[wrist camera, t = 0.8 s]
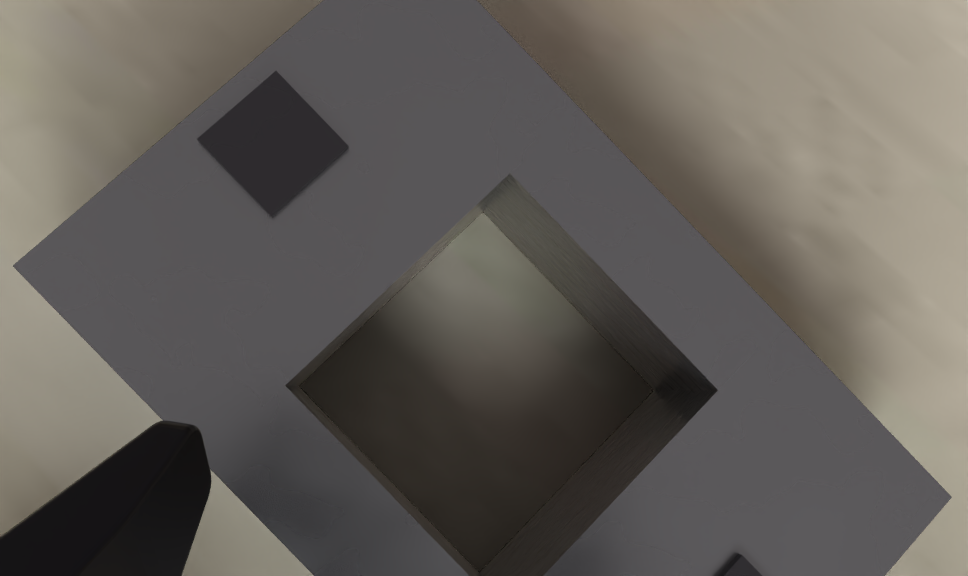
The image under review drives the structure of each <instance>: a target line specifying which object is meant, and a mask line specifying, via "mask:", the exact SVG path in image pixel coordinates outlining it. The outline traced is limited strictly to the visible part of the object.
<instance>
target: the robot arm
mask: <svg viewBox="0 0 968 576" xmlns="http://www.w3.org/2000/svg"><path fill="white" fill-rule="evenodd" d="M210 488H211V471H210V467H209V463H208V459H207V454H206V450H205V446H204V442H203V437H202V434H201V431H200V430H199V429H198V427H197V426H195V425H192V424H186V423H180V422H174V421H160V422H158V423H155V424H154V425H152V426H151V427H149V428H148V429H147V430H145V431H144V432H143V433H141V434H140V435H138V436H137V437H136V438H134V439H133V440H132V441H130V442H129V443H128V444H126V445H125V446H123V447H122V448H121V449H119V450H118V451H117V452H115V453H114V454H113V455H111V456H110V457H108V458H107V459H106V460H104V461H103V462H102V463H100V464H99V465H98V466H96V467H95V468H93V469H92V470H91V471H89V472H88V473H87V474H85V475H84V476H83V477H81V478H80V479H79V480H77V481H76V482H74V483H73V484H72V485H70V486H69V487H68V488H66V489H65V490H64V491H62V492H61V493H59V494H58V495H57V496H55V497H54V498H53V499H51V500H50V501H49V502H47V503H46V504H44V505H43V506H42V507H40V508H39V509H38V510H36V511H35V512H34V513H32V514H31V515H29V516H28V517H27V518H25V519H24V520H23V521H21V522H20V523H19V524H17V525H16V526H14V527H13V528H12V529H10V530H9V531H8V532H6V533H5V534H4V535H2V536H1V537H0V576H182V573H183V570H184V567H185V564H186V561H187V558H188V555H189V552H190V549H191V546H192V543H193V540H194V538H195V535H196V532H197V529H198V526H199V523H200V520H201V517H202V514H203V511H204V508H205V505H206V502H207V499H208V496H209V492H210Z"/></svg>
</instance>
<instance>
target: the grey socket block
mask: <svg viewBox="0 0 968 576" xmlns="http://www.w3.org/2000/svg"><path fill="white" fill-rule="evenodd" d="M482 212H484V213H485V214H486V215H487V216H488V217H489V218H490V220H491V221H492V222H493V223H494V224H495V225H496V226H497V227H498V228H499V229H500V230H501V231H502V232H503V233H504V234H505V235H506V236H507V237H508V238H509V239H510V240H511V241H512V242H513V243H514V245H515V246H516V247H517V248H518V249H519V250H520V251H521V252H522V253H523V254H524V255H525V256H526V257H527V258H528V259H529V260H530V261H531V262H532V263H533V264H534V265H535V266H536V267H537V268H538V270H539V271H540V272H541V273H542V274H543V275H544V276H545V277H546V278H547V279H548V280H549V281H550V282H551V283H552V284H553V285H554V286H555V287H556V288H557V289H558V290H559V291H560V292H561V293H562V294H563V296H564V297H565V298H566V299H567V300H568V301H569V302H570V303H571V304H572V305H573V306H574V307H575V308H576V309H577V310H578V311H579V312H580V313H581V314H582V315H583V316H584V317H585V318H586V319H587V321H588V322H589V323H590V324H591V325H592V326H593V327H594V328H595V329H596V330H597V331H598V332H599V333H600V334H601V335H602V336H603V337H604V338H605V339H606V340H607V341H608V342H609V343H610V344H611V345H612V347H613V348H614V349H615V350H616V351H617V352H618V353H619V354H620V355H621V356H622V357H623V358H624V359H625V360H626V361H627V362H628V363H629V364H630V365H631V366H632V367H633V368H634V369H635V370H636V372H637V373H638V374H639V375H640V376H641V377H642V378H643V379H644V380H645V381H646V382H647V383H648V384H649V385H650V386H651V387H652V388H653V389H654V391H653V392H652V393H651V394H650V395H649V396H648V397H647V398H646V399H645V401H644V402H643V403H642V404H641V405H640V406H639V407H638V408H637V409H636V410H635V411H634V412H633V413H632V414H631V415H630V416H629V417H628V418H627V419H626V420H625V421H624V422H623V423H622V424H621V426H620V427H619V428H618V429H617V430H616V431H615V432H614V433H613V434H612V435H611V436H610V437H609V438H608V439H607V440H606V441H605V442H604V443H603V444H602V445H601V446H600V447H599V448H598V450H597V451H596V452H595V453H594V454H593V455H592V456H591V457H590V458H589V459H588V460H587V461H586V462H585V463H584V464H583V465H582V466H581V467H580V468H579V469H578V470H577V471H576V472H575V473H574V475H573V476H572V477H571V478H570V479H569V480H568V481H567V482H566V483H565V484H564V485H563V486H562V487H561V488H560V489H559V490H558V491H557V492H556V493H555V494H554V495H553V496H552V497H551V499H550V500H549V501H548V502H547V503H546V504H545V505H544V506H543V507H542V508H541V509H540V510H539V511H538V512H537V513H536V514H535V515H534V516H533V517H532V518H531V519H530V520H529V521H528V522H527V524H526V525H525V526H524V527H523V528H522V529H521V530H520V531H519V532H518V533H517V534H516V535H515V536H514V537H513V538H512V539H511V540H510V541H509V542H508V543H507V544H506V545H505V546H504V548H503V549H502V550H501V551H500V552H499V553H498V554H497V555H496V556H495V557H494V558H493V559H492V560H491V561H490V562H489V563H488V564H487V565H486V566H485V567H484V568H483V569H482V570H481V571H480V573H479V572H478V571H477V570H476V569H475V568H474V567H473V566H472V565H471V564H470V563H469V562H468V561H467V560H466V559H465V558H464V557H463V556H462V555H461V554H460V553H459V552H458V551H457V550H456V549H455V547H454V546H453V545H452V544H451V543H450V542H449V541H448V540H447V539H446V538H445V537H444V536H443V535H442V534H441V533H440V532H439V531H438V530H437V529H436V528H435V527H434V526H433V525H432V524H431V523H430V522H429V521H428V520H427V519H426V518H425V517H424V515H423V514H422V513H421V512H420V511H419V510H418V509H417V508H416V507H415V506H414V505H413V504H412V503H411V502H410V501H409V500H408V499H407V498H406V497H405V496H404V495H403V494H402V493H401V492H400V491H399V490H398V489H397V488H396V487H395V486H394V485H393V484H392V482H391V481H390V480H389V479H388V478H387V477H386V476H385V475H384V474H383V473H382V472H381V471H380V470H379V469H378V468H377V467H376V466H375V465H374V464H373V463H372V462H371V461H370V460H369V459H368V458H367V457H366V456H365V455H364V454H363V453H362V452H361V450H360V449H359V448H358V447H357V446H356V445H355V444H354V443H353V442H352V441H351V440H350V439H349V438H348V437H347V436H346V435H345V434H344V433H343V432H342V431H341V430H340V429H339V428H338V427H337V426H336V425H335V424H334V423H333V422H332V421H331V420H330V419H329V417H328V416H327V415H326V414H325V413H324V412H323V411H322V410H321V409H320V408H319V407H318V406H317V405H316V404H315V403H314V402H313V401H312V400H311V399H310V398H309V397H308V396H307V395H306V394H305V393H304V392H303V391H302V390H301V389H300V388H299V387H298V386H299V385H300V384H301V383H302V382H304V381H305V380H306V379H307V378H308V377H309V376H310V375H311V374H312V373H313V372H314V371H315V370H316V369H317V368H318V367H319V366H320V365H322V364H323V363H324V362H325V361H326V360H327V359H328V358H329V357H330V356H331V355H332V354H333V353H334V352H335V351H336V350H337V349H338V348H339V347H341V346H342V345H343V344H344V343H345V342H346V341H347V340H348V339H349V338H350V337H351V336H352V335H353V334H354V333H355V332H356V331H357V330H358V329H360V328H361V327H362V326H363V325H364V324H365V323H366V322H367V321H368V320H369V319H370V318H371V317H372V316H373V315H374V314H375V313H376V312H377V311H379V310H380V309H381V308H382V307H383V306H384V305H385V304H386V303H387V302H388V301H389V300H390V299H391V298H392V297H393V296H394V295H395V294H396V293H398V292H399V291H400V290H401V289H402V288H403V287H404V286H405V285H406V284H407V283H408V282H409V281H410V280H411V279H412V278H413V277H414V276H415V275H417V274H418V273H419V272H420V271H421V270H422V269H423V268H424V267H425V266H426V265H427V264H428V263H429V262H430V261H431V260H432V259H433V258H434V257H436V256H437V255H438V254H439V253H440V252H441V251H442V250H443V249H444V248H445V247H446V246H447V245H448V244H449V243H450V242H451V241H452V240H453V239H455V238H456V237H457V236H458V235H459V234H460V233H461V232H462V231H463V230H464V229H465V228H466V227H467V226H468V225H469V224H470V223H471V222H472V221H474V220H475V219H476V218H477V217H478V216H479V215H480V214H481V213H482ZM13 267H14V268H15V269H16V270H17V271H18V272H19V273H20V274H21V275H22V276H23V277H24V278H25V279H26V280H27V281H28V282H29V283H30V284H31V285H32V286H33V287H34V288H35V289H36V290H37V291H38V292H39V293H40V294H41V296H42V297H43V298H44V299H45V300H46V301H47V302H48V303H49V304H50V305H51V306H52V307H53V308H54V309H55V310H56V311H57V312H58V313H59V314H60V315H61V316H62V317H63V318H64V319H65V320H66V321H67V322H68V323H69V324H70V325H71V326H72V327H73V328H74V329H75V330H76V331H77V333H78V334H79V335H80V336H81V337H82V338H83V339H84V340H85V341H86V342H87V343H88V344H89V345H90V346H91V347H92V348H93V349H94V350H95V351H96V352H97V353H98V354H99V355H100V356H101V357H102V358H103V359H104V360H105V361H106V362H107V363H108V364H109V365H110V366H111V367H112V368H113V369H114V371H115V372H116V373H117V374H118V375H119V376H120V377H121V378H122V379H123V380H124V381H125V382H126V383H127V384H128V385H129V386H130V387H131V388H132V389H133V390H134V391H135V392H136V393H137V394H138V395H139V396H140V397H141V398H142V399H143V400H144V401H145V402H146V403H147V404H148V405H149V406H150V408H151V409H152V410H153V411H154V412H155V413H156V414H157V415H158V416H159V417H160V418H161V419H162V420H163V421H174V422H180V423H186V424H192V425H195V426H197V427H198V429H199V430H200V431H201V434H202V437H203V442H204V446H205V450H206V454H207V459H208V463H209V467H210V469H211V470H212V471H213V472H214V473H215V474H216V475H217V476H218V477H219V478H220V479H221V480H222V482H223V483H224V484H225V485H226V486H227V487H228V488H229V489H230V490H231V491H232V492H233V493H234V494H235V495H236V496H237V497H238V498H239V499H240V500H241V501H242V502H243V503H244V504H245V505H246V506H247V507H248V508H249V509H250V510H251V511H252V512H253V513H254V514H255V515H256V516H257V517H258V518H259V520H260V521H261V522H262V523H263V524H264V525H265V526H266V527H267V528H268V529H269V530H270V531H271V532H272V533H273V534H274V535H275V536H276V537H277V538H278V539H279V540H280V541H281V542H282V543H283V544H284V545H285V546H286V547H287V548H288V549H289V550H290V551H291V552H292V553H293V554H294V555H295V557H296V558H297V559H298V560H299V561H300V562H301V563H302V564H303V565H304V566H305V567H306V568H307V569H308V570H309V571H310V572H311V573H312V574H313V575H314V576H885V575H886V574H887V572H888V571H889V570H890V569H891V568H892V567H893V565H894V564H895V563H896V562H897V561H898V560H899V558H900V557H901V556H902V555H903V554H904V553H905V551H906V550H907V549H908V548H909V547H910V546H911V544H912V543H913V542H914V541H915V540H916V538H917V537H918V536H919V535H920V534H921V533H922V531H923V530H924V529H925V528H926V527H927V526H928V524H929V523H930V522H931V521H932V520H933V519H934V517H935V516H936V515H937V514H938V513H939V512H940V510H941V509H942V508H943V507H944V506H945V505H946V503H947V502H948V501H949V500H950V499H951V498H952V497H951V496H950V495H949V494H948V493H947V492H946V491H945V489H944V488H943V487H942V486H941V485H940V484H939V483H938V482H937V481H936V480H935V479H934V478H933V477H932V476H931V475H930V474H929V473H928V472H927V471H926V470H925V469H924V468H923V466H922V465H921V464H920V463H919V462H918V461H917V460H916V459H915V458H914V457H913V456H912V455H911V454H910V453H909V452H908V451H907V450H906V449H905V448H904V447H903V446H902V444H901V443H900V442H899V441H898V440H897V439H896V438H895V437H894V436H893V435H892V434H891V433H890V432H889V431H888V430H887V429H886V428H885V427H884V426H883V425H882V424H881V423H880V421H879V420H878V419H877V418H876V417H875V416H874V415H873V414H872V413H871V412H870V411H869V410H868V409H867V408H866V407H865V406H864V405H863V404H862V403H861V402H860V401H859V400H858V398H857V397H856V396H855V395H854V394H853V393H852V392H851V391H850V390H849V389H848V388H847V387H846V386H845V385H844V384H843V383H842V382H841V381H840V380H839V379H838V378H837V377H836V375H835V374H834V373H833V372H832V371H831V370H830V369H829V368H828V367H827V366H826V365H825V364H824V363H823V362H822V361H821V360H820V359H819V358H818V357H817V356H816V355H815V353H814V352H813V351H812V350H811V349H810V348H809V347H808V346H807V345H806V344H805V343H804V342H803V341H802V340H801V339H800V338H799V337H798V336H797V335H796V334H795V333H794V332H793V330H792V329H791V328H790V327H789V326H788V325H787V324H786V323H785V322H784V321H783V320H782V319H781V318H780V317H779V316H778V315H777V314H776V313H775V312H774V311H773V310H772V309H771V307H770V306H769V305H768V304H767V303H766V302H765V301H764V300H763V299H762V298H761V297H760V296H759V295H758V294H757V293H756V292H755V291H754V290H753V289H752V288H751V287H750V286H749V284H748V283H747V282H746V281H745V280H744V279H743V278H742V277H741V276H740V275H739V274H738V273H737V272H736V271H735V270H734V269H733V268H732V267H731V266H730V265H729V264H728V262H727V261H726V260H725V259H724V258H723V257H722V256H721V255H720V254H719V253H718V252H717V251H716V250H715V249H714V248H713V247H712V246H711V245H710V244H709V243H708V242H707V241H706V239H705V238H704V237H703V236H702V235H701V234H700V233H699V232H698V231H697V230H696V229H695V228H694V227H693V226H692V225H691V224H690V223H689V222H688V221H687V220H686V219H685V218H684V216H683V215H682V214H681V213H680V212H679V211H678V210H677V209H676V208H675V207H674V206H673V205H672V204H671V203H670V202H669V201H668V200H667V199H666V198H665V197H664V196H663V195H662V193H661V192H660V191H659V190H658V189H657V188H656V187H655V186H654V185H653V184H652V183H651V182H650V181H649V180H648V179H647V178H646V177H645V176H644V175H643V174H642V173H641V171H640V170H639V169H638V168H637V167H636V166H635V165H634V164H633V163H632V162H631V161H630V160H629V159H628V158H627V157H626V156H625V155H624V154H623V153H622V152H621V151H620V150H619V148H618V147H617V146H616V145H615V144H614V143H613V142H612V141H611V140H610V139H609V138H608V137H607V136H606V135H605V134H604V133H603V132H602V131H601V130H600V129H599V128H598V127H597V125H596V124H595V123H594V122H593V121H592V120H591V119H590V118H589V117H588V116H587V115H586V114H585V113H584V112H583V111H582V110H581V109H580V108H579V107H578V106H577V105H576V104H575V102H574V101H573V100H572V99H571V98H570V97H569V96H568V95H567V94H566V93H565V92H564V91H563V90H562V89H561V88H560V87H559V86H558V85H557V84H556V83H555V82H554V80H553V79H552V78H551V77H550V76H549V75H548V74H547V73H546V72H545V71H544V70H543V69H542V68H541V67H540V66H539V65H538V64H537V63H536V62H535V61H534V60H533V59H532V57H531V56H530V55H529V54H528V53H527V52H526V51H525V50H524V49H523V48H522V47H521V46H520V45H519V44H518V43H517V42H516V41H515V40H514V39H513V38H512V37H511V36H510V34H509V33H508V32H507V31H506V30H505V29H504V28H503V27H502V26H501V25H500V24H499V23H498V22H497V21H496V20H495V19H494V18H493V17H492V16H491V15H490V14H489V13H488V11H487V10H486V9H485V8H484V7H483V6H482V5H481V4H480V3H479V2H478V1H477V0H323V1H322V2H321V3H320V4H319V5H317V6H316V7H315V8H314V9H313V10H312V11H310V12H309V13H308V14H307V15H306V16H305V17H303V18H302V19H301V20H300V21H299V22H297V23H296V24H295V25H294V26H293V27H292V28H290V29H289V30H288V31H287V32H286V33H285V34H283V35H282V36H281V37H280V38H279V39H278V40H276V41H275V42H274V43H273V44H272V45H271V46H269V47H268V48H267V49H266V50H265V51H264V52H262V53H261V54H260V55H259V56H258V57H257V58H255V59H254V60H253V61H252V62H251V63H250V64H248V65H247V66H246V67H245V68H244V69H242V70H241V71H240V72H239V73H238V74H237V75H235V76H234V77H233V78H232V79H231V80H230V81H228V82H227V83H226V84H225V85H224V86H223V87H221V88H220V89H219V90H218V91H217V92H216V93H214V94H213V95H212V96H211V97H210V98H209V99H207V100H206V101H205V102H204V103H203V104H202V105H200V106H199V107H198V108H197V109H196V110H194V111H193V112H192V113H191V114H190V115H189V116H187V117H186V118H185V119H184V120H183V121H182V122H180V123H179V124H178V125H177V126H176V127H175V128H173V129H172V130H171V131H170V132H169V133H168V134H166V135H165V136H164V137H163V138H162V139H161V140H159V141H158V142H157V143H156V144H155V145H154V146H152V147H151V148H150V149H149V150H148V151H147V152H145V153H144V154H143V155H142V156H141V157H139V158H138V159H137V160H136V161H135V162H134V163H132V164H131V165H130V166H129V167H128V168H127V169H125V170H124V171H123V172H122V173H121V174H120V175H118V176H117V177H116V178H115V179H114V180H113V181H111V182H110V183H109V184H108V185H107V186H106V187H104V188H103V189H102V190H101V191H100V192H99V193H97V194H96V195H95V196H94V197H93V198H92V199H90V200H89V201H88V202H87V203H86V204H84V205H83V206H82V207H81V208H80V209H79V210H77V211H76V212H75V213H74V214H73V215H72V216H70V217H69V218H68V219H67V220H66V221H65V222H63V223H62V224H61V225H60V226H59V227H58V228H56V229H55V230H54V231H53V232H52V233H51V234H49V235H48V236H47V237H46V238H45V239H44V240H42V241H41V242H40V243H39V244H38V245H36V246H35V247H34V248H33V249H32V250H31V251H29V252H28V253H27V254H26V255H25V256H24V257H22V258H21V259H20V260H19V261H18V262H17V263H15V264H14V265H13Z"/></svg>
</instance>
